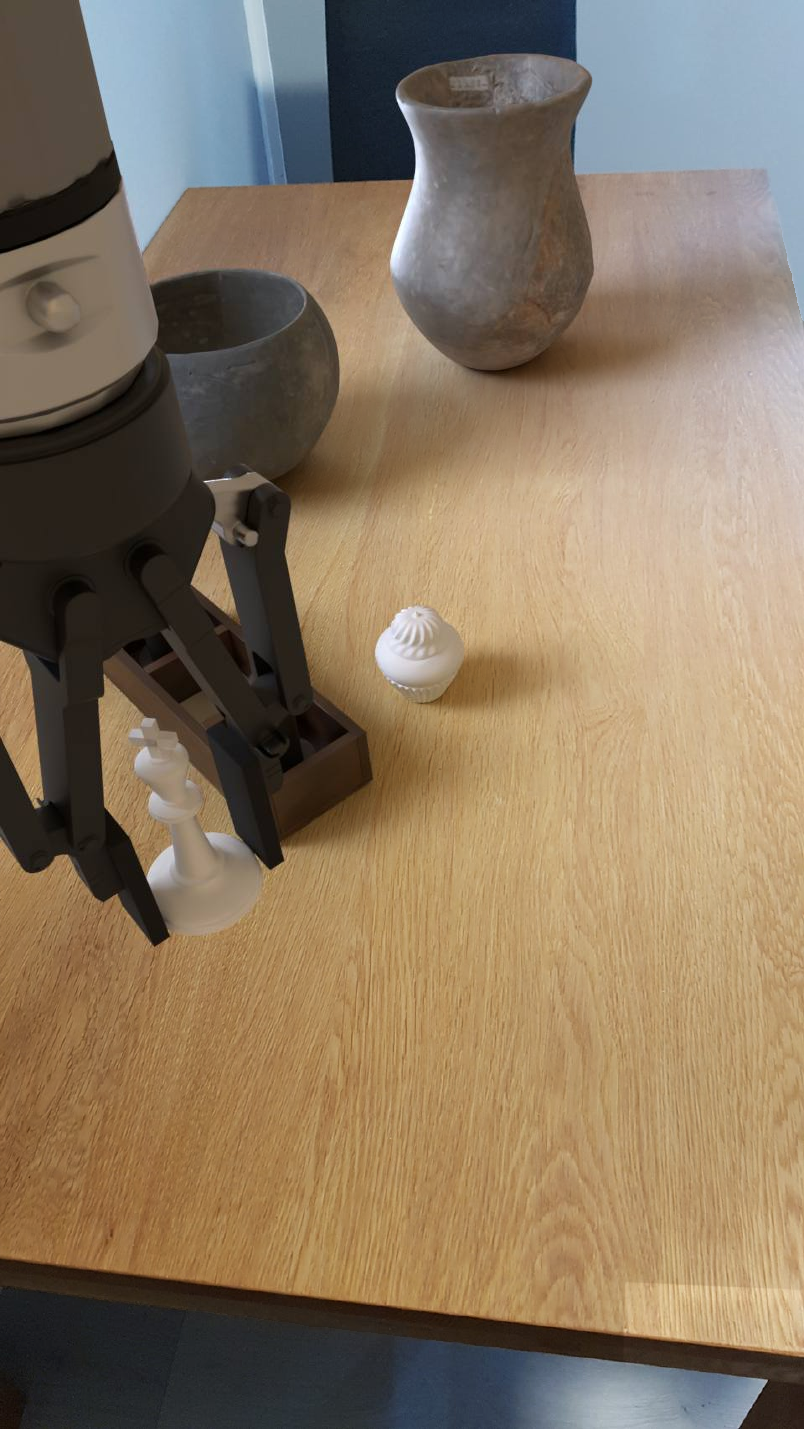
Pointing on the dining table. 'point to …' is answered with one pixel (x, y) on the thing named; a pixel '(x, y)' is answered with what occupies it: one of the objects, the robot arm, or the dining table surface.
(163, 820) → the chess piece
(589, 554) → the dining table surface
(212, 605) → the rack
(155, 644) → the ebony piece
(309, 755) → the ebony piece
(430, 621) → the muffin
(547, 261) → the vase
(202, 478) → the bowl
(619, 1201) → the dining table surface
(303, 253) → the dining table surface
